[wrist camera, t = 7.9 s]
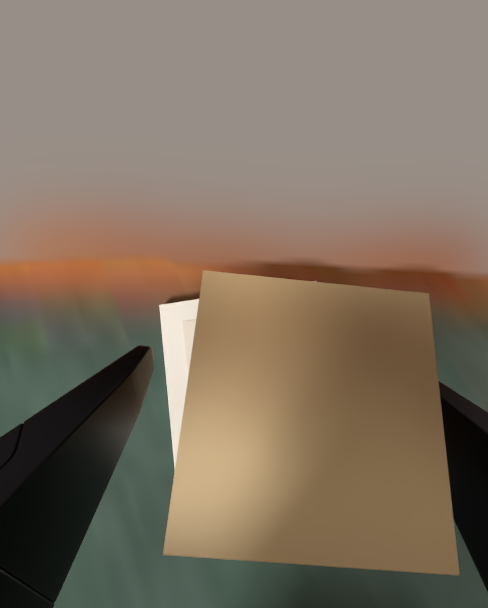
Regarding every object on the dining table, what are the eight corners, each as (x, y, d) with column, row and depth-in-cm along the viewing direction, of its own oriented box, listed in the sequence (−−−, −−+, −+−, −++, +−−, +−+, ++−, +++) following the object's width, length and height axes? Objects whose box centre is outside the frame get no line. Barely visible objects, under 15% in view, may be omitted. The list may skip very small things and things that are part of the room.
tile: (355, 447, 16) (362, 452, 15) (179, 486, 15) (176, 494, 14) (313, 284, 19) (317, 280, 18) (162, 307, 18) (159, 304, 17)
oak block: (289, 416, 16) (459, 575, 4) (214, 409, 15) (163, 554, 4) (292, 340, 17) (429, 293, 5) (223, 334, 17) (203, 270, 5)
